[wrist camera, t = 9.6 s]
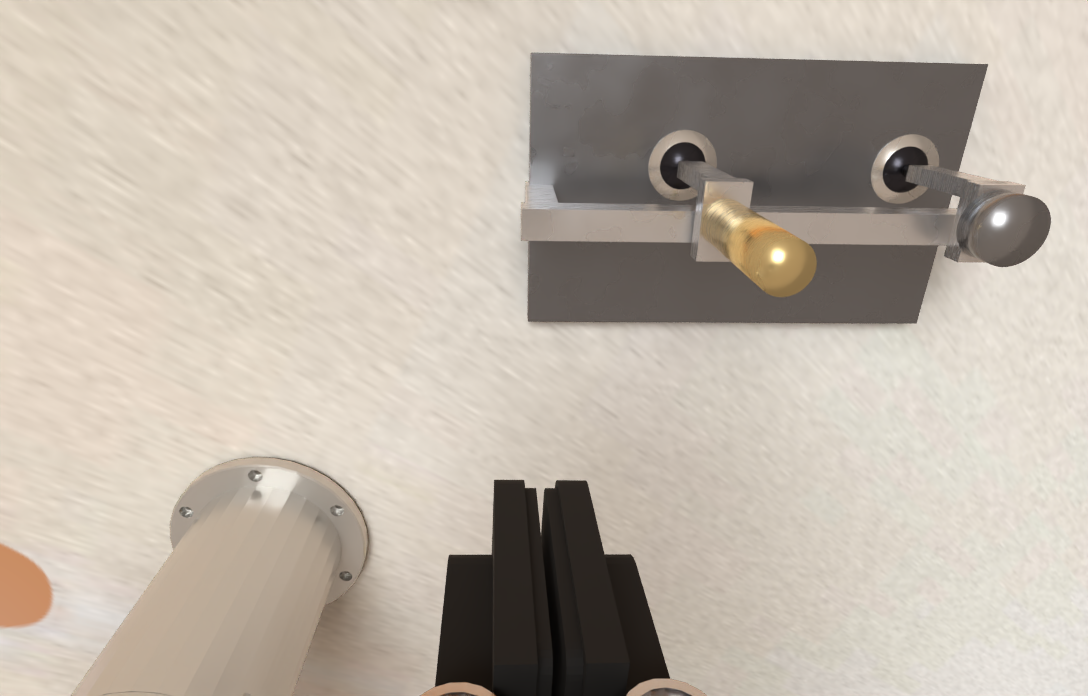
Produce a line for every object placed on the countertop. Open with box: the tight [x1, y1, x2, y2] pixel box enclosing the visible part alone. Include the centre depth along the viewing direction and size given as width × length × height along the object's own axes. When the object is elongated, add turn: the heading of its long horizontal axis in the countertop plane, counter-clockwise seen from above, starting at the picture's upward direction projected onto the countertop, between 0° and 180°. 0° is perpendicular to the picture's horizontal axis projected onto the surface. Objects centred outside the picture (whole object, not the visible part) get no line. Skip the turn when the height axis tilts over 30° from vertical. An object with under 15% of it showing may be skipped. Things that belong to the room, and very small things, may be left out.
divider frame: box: [521, 164, 1051, 267], centre depth 31 cm, size 3×23×10 cm, turn 89°
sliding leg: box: [677, 160, 817, 297], centre depth 27 cm, size 3×2×14 cm, turn 179°
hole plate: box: [527, 53, 988, 323], centre depth 35 cm, size 14×23×1 cm, turn 89°
